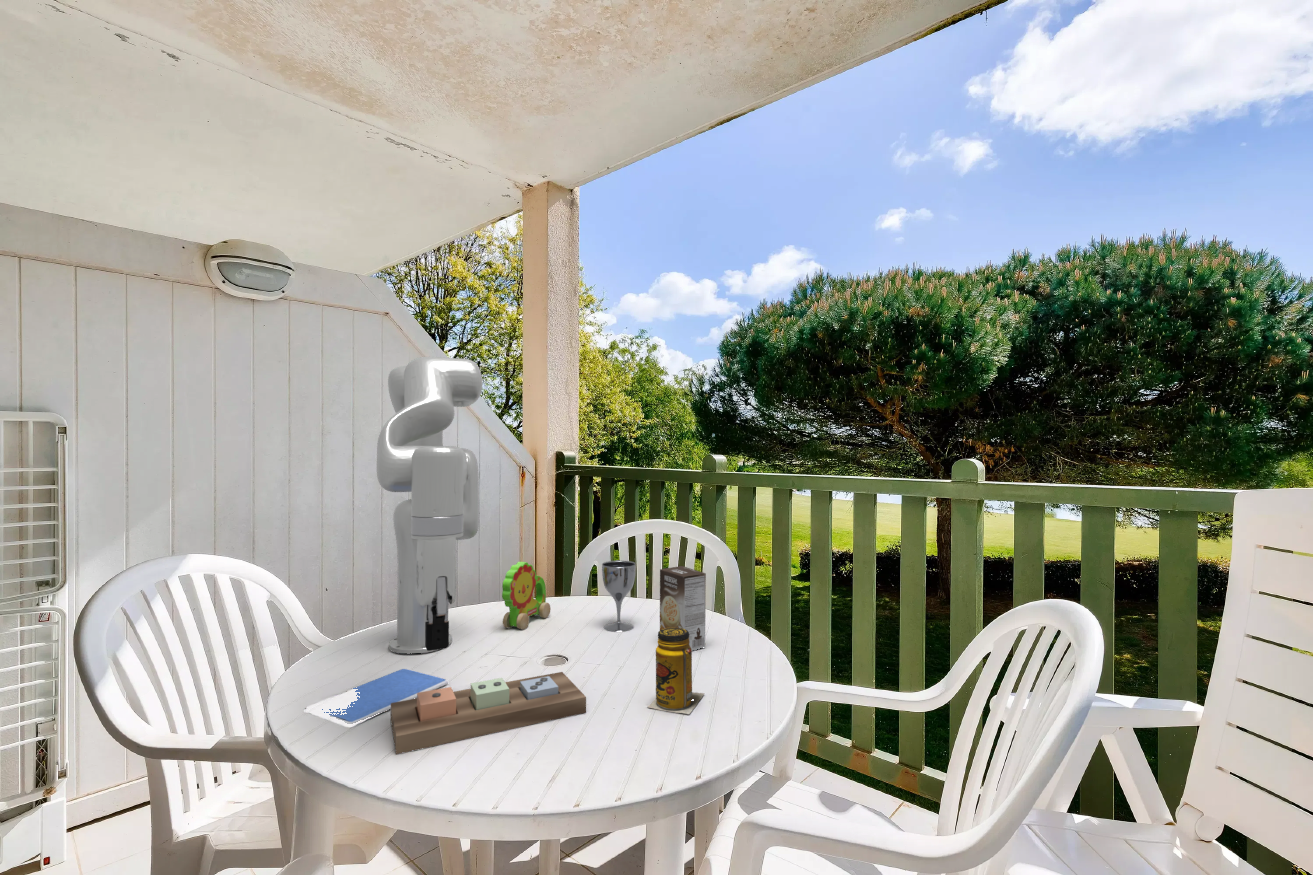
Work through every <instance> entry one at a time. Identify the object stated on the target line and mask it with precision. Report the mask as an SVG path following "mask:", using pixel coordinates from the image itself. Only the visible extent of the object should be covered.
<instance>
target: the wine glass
mask: <svg viewBox="0 0 1313 875" xmlns="http://www.w3.org/2000/svg"><path fill="white" fill-rule="evenodd" d="M636 565H637V564H636V562H634V561H629V560H609V561H604V562H603V563H602V564H601V577H602V582H603V585H604V586H603V587H604V588H605V590H606V591H607V592H608V594H609V595H610V596H611V597H612V599H613V600H614V602H615V606H616V622H611V623H607V624H605V625H603V629H604V630H605V631H607V632H614V633H615V632H616V633H617V632H618V633H621V632H622V633H623V632H628V631H630V630H633V629H634V628H635V626H634V625H633V624H632V623H628V622H622V621H621V612H622V605H623V604H622V603H623V600H624V599H625V598H626V596H627V595H629V593H630V591H632V589H633V587H634V584H635V580H636V569H637V568H636Z"/></svg>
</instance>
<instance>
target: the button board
mask: <svg viewBox="0 0 1313 875" xmlns="http://www.w3.org/2000/svg"><path fill="white" fill-rule="evenodd" d="M547 676H549V677H550V678H551V679H552V680H553V681H554V682H555V683H556V685H557V686H558V694H555V695H550V696H545V697H540V698H535V699H530V700H526V698H525V697H524V696H523V694H522V693H521V691H520V681H526V680H531V679H537V678H542V677H547ZM505 683H506V684H507V686H508V687H509V704H505V705H500V706H495V707H490V708H485V709H480V710H474V708H473V706H472V703H471V688H467V689H466V688H465V689H461V690H455V691H454V690H453V692H454V695H455V697H456V714H455V715H450V716H445V717H440V718H435V719H430V720H425V721H420V722H419V718H418V714H417V698H415V699H411V700H405V701H400V702H394V703H391V710H390V724H391V723H392V725H391V730H393V731H392V736H394V738H393V742H394V743H395V744H394V750H396V751H395V754H396V755H400V754H403V753H402V752H405V753H408V752H409V751H410V752H413V751H412V750H414V751H418V749H419V750H423V749H427V748H431V747H436V746H440V745H445V744H449V743H454V742H458V741H459V742H460V741H463V740H467V739H472V738H478V737H481V736H487V735H491V734H495V733H499V732H504V731H509V730H513V729H518V728H523V727H526V726H531V725H537V724H540V723H541V724H542V723H545V722H546V723H547V722H550V721H554V720H555V721H556V720H558V719H563V718H567V717H572V716H577V715H581V714H586V713H587V696H586V695H585V693H583V692H582V691H581V690H580V689H579V688H578V686H576V684H575V683H573V682H572V680H571V679H570V678H569V677H568V676H567V675H566V674H565V673H564V672H563V671H559V672H558V671H557V672H554V673H553V672H552V673H550V674H549V673H548V674H543V675H537V676H532V677H526V678H520V679H515V680H510V681H509V680H508V681H505ZM422 748H423V749H422ZM399 753H400V754H399Z"/></svg>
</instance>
